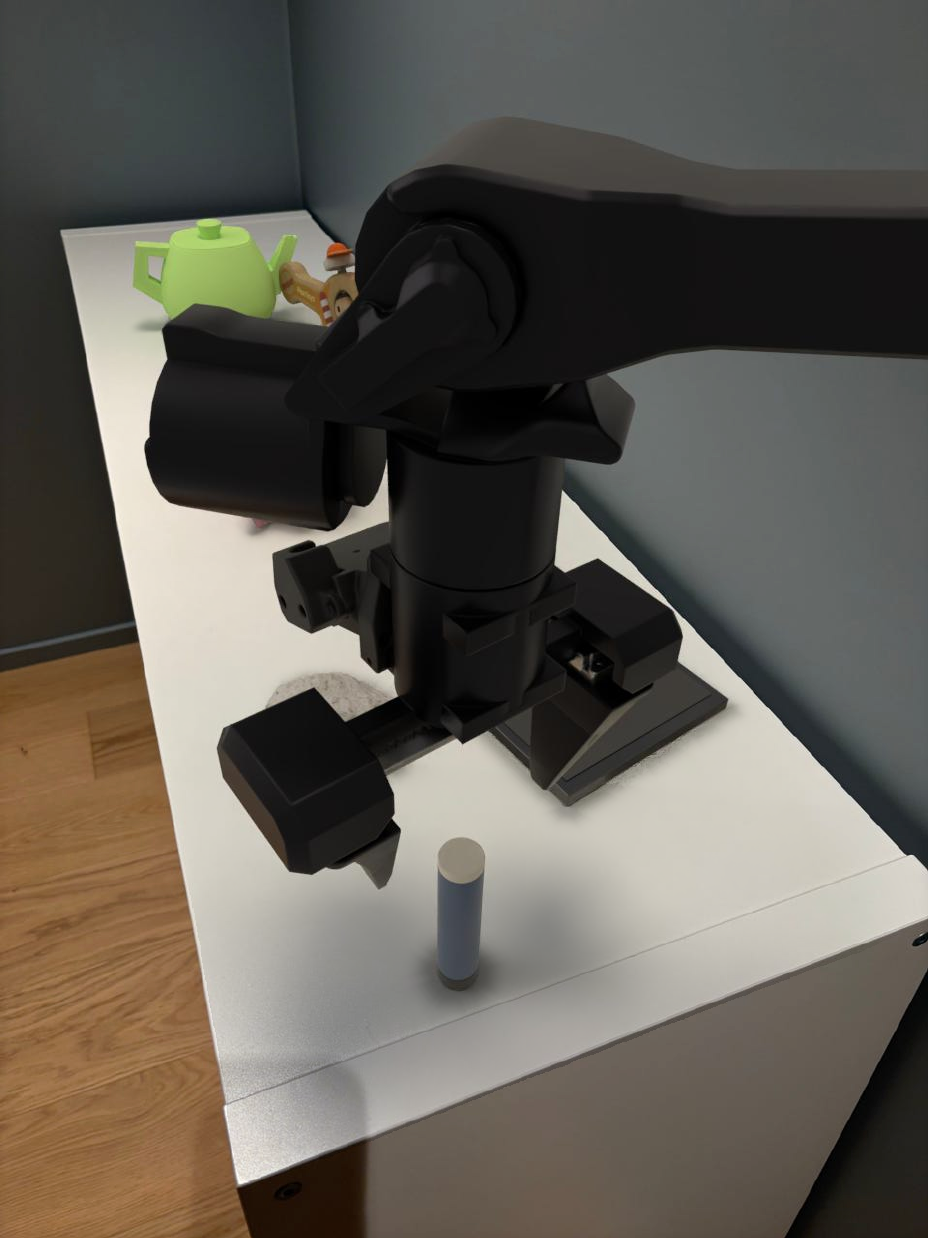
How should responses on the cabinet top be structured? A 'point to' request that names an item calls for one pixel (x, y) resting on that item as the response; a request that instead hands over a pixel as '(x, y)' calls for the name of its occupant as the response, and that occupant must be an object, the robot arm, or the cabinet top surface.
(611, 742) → the tablet
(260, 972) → the cabinet top surface
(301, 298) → the toy helicopter
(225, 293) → the teapot
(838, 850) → the cabinet top surface
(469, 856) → the stylus
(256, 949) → the cabinet top surface
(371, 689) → the stone
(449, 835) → the cabinet top surface
